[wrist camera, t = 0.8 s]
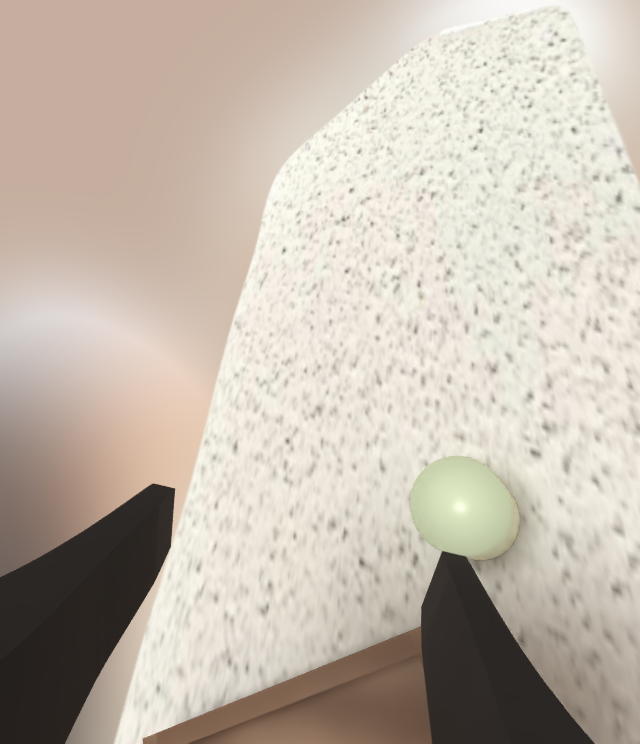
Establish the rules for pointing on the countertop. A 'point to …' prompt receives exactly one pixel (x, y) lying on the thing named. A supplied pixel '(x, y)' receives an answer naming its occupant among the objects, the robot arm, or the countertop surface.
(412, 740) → the serving tray
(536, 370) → the countertop surface
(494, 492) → the cucumber chunk
